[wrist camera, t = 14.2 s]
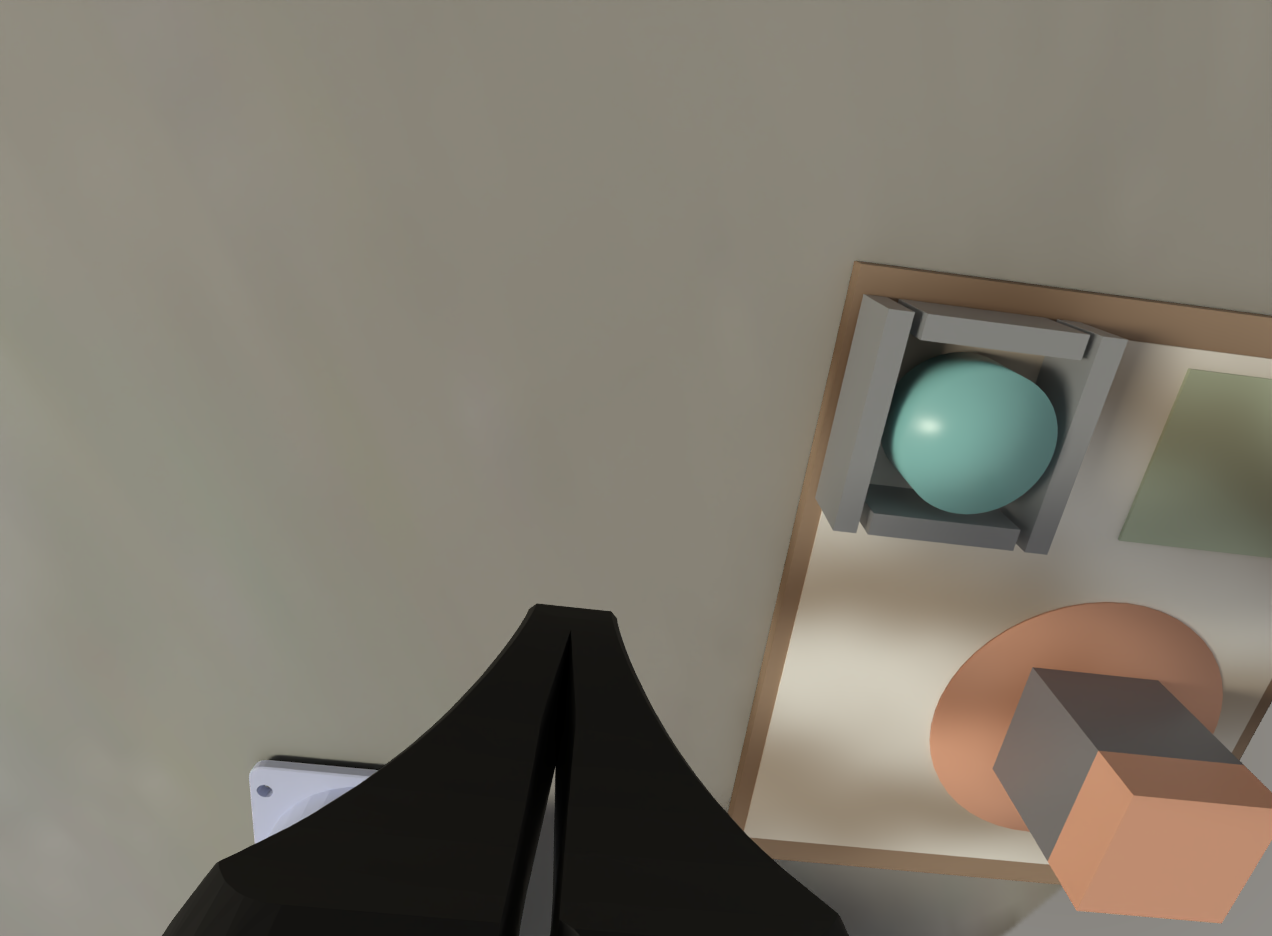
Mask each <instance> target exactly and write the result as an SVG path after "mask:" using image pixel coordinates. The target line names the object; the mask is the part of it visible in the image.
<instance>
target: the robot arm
mask: <svg viewBox="0 0 1272 936" xmlns="http://www.w3.org/2000/svg"><path fill="white" fill-rule="evenodd" d="M555 766H556V772H555V820H554V872H553V905H552V922H551V933H550V936H849V935H848V933H847V931H846V929H845V926H844V924H843V922H842V920H841V918H840V916H839V915H838V913H836V912H835V911H834V910H833V909H831V908H830V907H829V906H828V905H827V904H825V903H824V902H823V901H822V900H820V899H819V898H818V897H817V896H816V895H814V894H813V893H812V892H811V891H809V890H808V889H807V888H806V887H804V886H803V885H802V884H801V883H800V882H798V881H797V880H796V879H795V878H793V877H792V876H791V875H790V874H789V873H787V872H786V871H785V870H784V869H783V868H781V867H780V866H779V865H778V864H777V863H776V862H775V861H774V860H773V859H772V858H771V857H770V856H769V855H767V854H766V853H765V852H764V851H763V850H762V849H761V848H760V847H759V846H758V845H757V844H756V843H755V842H754V841H753V840H752V839H751V838H750V837H749V836H748V835H747V834H746V833H745V832H744V831H743V830H742V829H741V828H740V827H739V825H738V824H737V823H736V822H735V821H734V820H733V819H732V818H731V817H730V816H729V814H728V813H727V812H726V811H725V810H724V809H723V808H722V807H721V806H720V805H719V803H718V802H717V801H716V800H715V799H714V798H713V796H712V795H711V794H710V793H709V791H708V790H707V789H706V787H705V786H704V785H703V784H702V782H701V781H700V780H699V779H698V777H697V776H696V775H695V773H694V772H693V770H692V769H691V768H690V766H689V765H688V763H687V762H686V761H685V759H684V758H683V756H682V755H681V754H680V752H679V751H678V749H677V748H676V746H675V744H674V743H673V741H672V740H671V738H670V737H669V735H668V733H667V732H666V730H665V728H664V727H663V725H662V723H661V721H660V720H659V718H658V716H657V715H656V713H655V711H654V709H653V707H652V705H651V704H650V702H649V700H648V698H647V696H646V694H645V692H644V690H643V688H642V685H641V683H640V681H639V679H638V677H637V675H636V673H635V671H634V668H633V666H632V664H631V662H630V659H629V656H628V654H627V651H626V649H625V646H624V643H623V640H622V637H621V634H620V631H619V627H618V623H617V618H616V617H615V616H614V614H613V613H612V612H611V611H602V610H592V609H583V608H573V607H564V606H554V605H545V604H536V605H534V606H533V607H531V608H530V609H529V611H528V613H527V615H526V616H525V618H524V620H523V621H522V623H521V625H520V626H519V628H518V629H517V631H516V632H515V634H514V635H513V637H512V638H511V639H510V641H509V642H508V643H507V645H506V646H505V648H504V649H503V650H502V651H501V653H500V654H499V655H498V656H497V658H496V659H495V660H494V661H493V663H492V664H491V665H490V666H489V667H488V669H487V670H486V671H485V672H484V674H483V675H482V676H481V677H480V678H479V679H478V680H477V682H476V683H475V684H474V685H473V686H472V687H471V688H470V689H469V690H468V691H467V692H466V693H465V694H464V695H463V696H462V697H461V699H460V700H459V701H458V702H457V703H456V704H455V705H454V706H453V707H452V708H451V709H450V710H449V711H448V712H447V713H446V714H445V715H444V716H443V717H442V718H441V719H440V720H439V721H437V722H436V723H435V724H434V725H433V726H432V727H431V728H430V729H429V730H428V731H426V732H425V733H424V734H423V735H422V736H421V737H419V738H418V739H417V740H416V741H415V742H414V743H413V744H411V745H410V746H409V747H408V748H406V749H405V750H404V751H403V752H401V753H400V754H399V755H397V756H396V757H395V758H394V759H392V760H391V761H390V762H388V763H387V764H386V765H385V766H383V767H382V768H381V769H379V770H371V769H360V768H350V767H339V766H328V765H317V764H306V763H296V762H285V761H274V760H261V761H259V762H257V763H256V764H255V765H254V767H253V768H252V770H251V772H250V775H249V782H250V794H251V805H252V817H253V829H254V840H255V844H254V845H252V846H250V847H248V848H246V849H244V850H242V851H240V852H238V853H236V854H234V855H232V856H230V857H227V858H225V859H223V860H221V861H219V862H217V863H216V864H215V865H214V867H213V868H212V869H211V870H210V872H209V873H208V874H207V876H206V877H205V878H204V879H203V881H202V882H201V883H200V885H199V886H198V887H197V889H196V890H195V891H194V892H193V894H192V895H191V896H190V898H189V899H188V900H187V902H186V903H185V904H184V905H183V907H182V908H181V909H180V911H179V912H178V913H177V915H176V916H175V917H174V919H173V920H172V921H171V923H170V924H169V926H168V927H167V929H166V930H165V932H164V934H163V935H162V936H519V931H520V924H521V919H522V913H523V908H524V903H525V897H526V892H527V888H528V884H529V879H530V875H531V871H532V866H533V862H534V857H535V853H536V849H537V844H538V840H539V836H540V831H541V827H542V823H543V818H544V814H545V810H546V805H547V801H548V796H549V792H550V788H551V783H552V779H553V774H554V770H555ZM265 785H266V786H269V787H270V788H268V787H266V786H265Z"/></svg>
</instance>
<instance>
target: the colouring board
mask: <svg viewBox="0 0 1272 936" xmlns="http://www.w3.org/2000/svg"><path fill="white" fill-rule="evenodd" d="M863 294H867V295H874V296H882V297H888V298H890V299H891V300H893V301H895V302H897V303H898V300H899V299H905V300H913V301H921V302H928V303H936V304H944V305H951V306H959V307H967V308H974V309H982V310H990V311H997V312H1005V313H1013V314H1021V315H1028V316H1036V317H1044V318H1048V319H1050V320H1053V321H1055V322H1056V321H1057V319H1059V320H1067V321H1074V322H1081V323H1084V324H1086V325H1089V326H1092V327H1095V328H1097V329H1100V330H1103V331H1106V332H1108V333H1111V334H1114V335H1117V336H1119V337H1122V338H1125V339H1128V342H1127V344H1126V347H1125V350H1124V352H1123V355H1122V358H1121V360H1120V363H1119V366H1118V368H1117V371H1116V374H1115V376H1114V379H1113V382H1112V384H1111V387H1110V390H1109V392H1108V395H1107V398H1106V400H1105V403H1104V405H1103V408H1102V411H1101V413H1100V416H1099V419H1098V421H1097V424H1096V427H1095V429H1094V432H1093V435H1092V437H1091V440H1090V443H1089V445H1088V448H1087V451H1086V453H1085V456H1084V459H1083V461H1082V464H1081V467H1080V469H1079V472H1078V474H1077V477H1076V480H1075V482H1074V485H1073V488H1072V490H1071V493H1070V496H1069V498H1068V501H1067V504H1066V506H1065V509H1064V512H1063V514H1062V517H1061V520H1060V522H1059V525H1058V528H1057V530H1056V533H1055V536H1054V538H1053V541H1052V543H1051V546H1050V549H1049V551H1048V554H1047V555H1044V554H1035V553H1026V552H1024V551H1023V550H1022V549H1021V548H1020V547H1019V546H1018V545H1017V544H1016V545H1015V547H1014V550H1013V551H1009V550H1000V549H991V548H982V547H973V546H964V545H955V544H947V543H938V542H929V541H920V540H911V539H902V538H893V537H885V536H876V535H868V534H867V532H866V531H865V529H864V528H863V526H862V525H861V523H860V521H859V525H858V529H857V532H856V533H849V532H840V531H833V530H832V528H831V526H830V524H829V522H828V521H827V519H826V517H825V515H824V513H823V511H822V510H821V508H820V506H819V504H818V502H817V500H816V498H815V496H816V492H817V488H818V483H819V479H820V475H821V471H822V467H823V462H824V458H825V454H826V450H827V446H828V441H829V437H830V433H831V429H832V425H833V420H834V416H835V412H836V408H837V404H838V399H839V395H840V391H841V387H842V383H843V378H844V374H845V370H846V366H847V362H848V357H849V353H850V349H851V345H852V340H853V336H854V332H855V328H856V324H857V319H858V315H859V311H860V307H861V303H862V298H863ZM954 352H969V353H975V354H980V355H983V356H986V357H988V358H990V359H992V360H994V361H996V362H998V363H999V364H1001V365H1003V366H1005V367H1007V368H1008V369H1010V370H1012V371H1014V372H1016V373H1017V374H1019V375H1021V376H1023V377H1025V378H1026V379H1028V380H1030V381H1032V382H1033V383H1034V384H1036V381H1037V378H1038V375H1039V372H1040V369H1041V366H1042V363H1043V360H1044V357H1045V356H1042V355H1034V354H1026V353H1018V352H1010V351H1003V350H995V349H987V348H979V347H971V346H963V345H955V344H948V343H940V342H932V341H924V340H920V339H918V338H917V337H915V336H913V335H912V334H910V333H909V337H908V340H907V344H906V348H905V352H904V355H903V359H902V363H901V367H900V370H899V374H898V378H897V382H896V384H897V383H898V382H899V380H900V379H901V378H902V377H903V376H904V375H905V374H906V373H908V372H909V371H910V370H912V369H913V368H914V367H916V366H917V365H919V364H921V363H922V362H924V361H926V360H928V359H930V358H933V357H936V356H939V355H942V354H947V353H954ZM869 484H876V485H885V486H894V487H902V488H911V489H913V488H912V487H911V486H910V485H909V483H908V482H907V481H906V480H905V479H904V478H903V476H902V475H901V474H900V473H899V472H898V471H897V469H896V468H895V467H894V466H893V465H892V463H891V462H890V461H889V459H888V458H887V456H886V454H885V452H884V449H883V447H882V443H881V442H880V446H879V450H878V453H877V457H876V461H875V465H874V468H873V472H872V476H871V480H870V483H869ZM1032 667H1035V668H1045V669H1054V670H1064V671H1073V672H1083V673H1092V674H1102V675H1111V676H1121V677H1131V678H1140V679H1150V680H1158V681H1159V682H1160V683H1161V684H1162V685H1163V686H1164V687H1165V688H1166V689H1167V690H1168V691H1169V692H1170V693H1172V694H1173V695H1174V696H1175V697H1176V698H1177V699H1178V700H1179V701H1180V702H1181V703H1182V704H1183V705H1184V706H1185V707H1186V708H1187V709H1188V710H1189V711H1190V712H1191V713H1192V714H1193V715H1194V716H1195V717H1196V718H1197V719H1198V720H1199V721H1200V722H1201V723H1202V724H1203V725H1204V726H1205V727H1206V728H1207V729H1208V730H1209V731H1210V732H1211V733H1212V734H1213V735H1214V736H1215V737H1216V738H1217V739H1218V740H1219V741H1220V742H1221V743H1222V744H1223V745H1224V746H1225V747H1226V748H1227V749H1228V750H1229V751H1230V752H1231V753H1232V754H1233V755H1234V756H1235V757H1236V758H1237V759H1238V760H1240V758H1241V757H1242V755H1243V753H1244V751H1245V749H1246V747H1247V745H1248V744H1249V742H1250V740H1251V738H1252V736H1253V735H1254V733H1255V731H1256V729H1257V727H1258V726H1259V724H1260V722H1261V720H1262V718H1263V717H1264V715H1265V713H1266V711H1267V709H1268V707H1269V706H1270V704H1271V702H1272V316H1268V315H1261V314H1253V313H1246V312H1238V311H1230V310H1223V309H1215V308H1208V307H1200V306H1193V305H1185V304H1177V303H1170V302H1162V301H1155V300H1147V299H1140V298H1132V297H1125V296H1117V295H1109V294H1102V293H1094V292H1087V291H1079V290H1072V289H1064V288H1057V287H1049V286H1041V285H1034V284H1026V283H1019V282H1011V281H1004V280H996V279H988V278H981V277H973V276H966V275H958V274H951V273H943V272H936V271H928V270H920V269H913V268H905V267H898V266H890V265H883V264H875V263H868V262H860V261H854V265H853V270H852V274H851V279H850V283H849V287H848V292H847V296H846V300H845V305H844V309H843V313H842V318H841V322H840V326H839V331H838V335H837V340H836V344H835V348H834V353H833V357H832V361H831V366H830V370H829V374H828V379H827V383H826V387H825V392H824V396H823V401H822V405H821V409H820V414H819V418H818V422H817V427H816V431H815V435H814V440H813V444H812V448H811V453H810V457H809V461H808V466H807V470H806V475H805V479H804V483H803V488H802V492H801V496H800V501H799V505H798V509H797V514H796V518H795V522H794V527H793V531H792V536H791V540H790V544H789V549H788V553H787V557H786V562H785V566H784V570H783V575H782V579H781V583H780V588H779V592H778V596H777V601H776V605H775V610H774V614H773V618H772V623H771V627H770V631H769V636H768V640H767V644H766V649H765V653H764V657H763V662H762V666H761V671H760V675H759V679H758V684H757V688H756V692H755V697H754V701H753V705H752V710H751V714H750V718H749V723H748V727H747V732H746V736H745V740H744V745H743V749H742V753H741V758H740V762H739V766H738V771H737V775H736V779H735V784H734V788H733V792H732V797H731V801H730V806H729V810H728V814H729V816H730V817H731V818H732V819H733V820H734V821H735V822H736V823H737V824H738V825H739V827H740V828H741V829H742V830H743V831H744V832H745V833H746V834H747V835H748V836H749V837H750V838H751V839H752V840H753V841H754V842H755V843H756V844H757V845H758V846H759V847H760V848H761V849H762V850H763V851H764V852H765V853H766V854H767V855H769V856H770V857H771V858H772V859H779V860H790V861H802V862H813V863H824V864H835V865H847V866H858V867H869V868H880V869H892V870H903V871H914V872H925V873H937V874H948V875H959V876H970V877H981V878H993V879H1004V880H1015V881H1026V882H1038V883H1049V884H1060V885H1061V883H1060V882H1059V880H1058V878H1057V877H1056V875H1055V873H1054V872H1053V870H1052V868H1051V866H1050V865H1049V863H1048V861H1047V860H1046V858H1045V856H1044V855H1043V853H1042V851H1041V850H1040V848H1039V846H1038V845H1037V843H1036V841H1035V839H1034V838H1033V836H1032V834H1031V833H1030V831H1029V829H1028V828H1027V826H1026V824H1025V823H1024V821H1023V819H1022V818H1021V816H1020V814H1019V812H1018V811H1017V809H1016V807H1015V806H1014V804H1013V802H1012V801H1011V799H1010V797H1009V796H1008V794H1007V792H1006V791H1005V789H1004V787H1003V785H1002V784H1001V782H1000V780H999V779H998V777H997V775H996V774H995V772H994V770H993V766H994V763H995V761H996V758H997V756H998V753H999V751H1000V748H1001V746H1002V743H1003V741H1004V738H1005V736H1006V733H1007V730H1008V728H1009V725H1010V723H1011V720H1012V718H1013V715H1014V713H1015V710H1016V708H1017V705H1018V703H1019V700H1020V698H1021V695H1022V692H1023V690H1024V687H1025V685H1026V682H1027V680H1028V677H1029V675H1030V672H1031V670H1032Z"/></svg>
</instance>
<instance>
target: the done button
mask: <svg viewBox="0 0 1272 936" xmlns="http://www.w3.org/2000/svg"><path fill="white" fill-rule="evenodd" d="M1057 434H1058V426H1057V418H1056V414H1055V411H1054V408H1053V406H1052V404H1051V402H1050V400H1049V398H1048V397H1047V396H1046V394H1045V393H1044V392H1043V391H1042V390H1041V389H1040V388H1039V387H1038V386H1037V385H1036V384H1034V383H1033V382H1032V381H1030V380H1028V379H1026V378H1025V377H1023V376H1021V375H1019V374H1017V373H1016V372H1014V371H1012V370H1010V369H1008V368H1007V367H1005V366H1003V365H1001V364H999V363H998V362H996V361H994V360H992V359H990V358H988V357H986V356H983V355H980V354H975V353H969V352H954V353H947V354H942V355H939V356H936V357H933V358H930V359H928V360H926V361H924V362H922V363H921V364H919V365H917V366H916V367H914V368H913V369H912V370H910V371H909V372H908V373H906V374H905V375H904V376H903V377H902V378H901V379H900V380H899V382H898V383H897V384H896V385H895V389H894V393H893V397H892V401H891V404H890V408H889V412H888V416H887V419H886V423H885V427H884V431H883V434H882V438H881V443H882V447H883V449H884V452H885V454H886V456H887V458H888V459H889V461H890V462H891V463H892V465H893V466H894V467H895V468H896V469H897V471H898V472H899V473H900V474H901V475H902V476H903V478H904V479H905V480H906V481H907V482H908V483H909V485H910V486H911V487H912V488H913V489H914V490H915V492H916V493H917V494H918V495H919V496H920V497H921V498H922V499H923V500H925V501H926V502H927V503H929V504H930V505H932V506H934V507H936V508H938V509H940V510H944V511H947V512H951V513H956V514H978V513H984V512H988V511H992V510H995V509H998V508H1000V507H1003V506H1005V505H1007V504H1009V503H1011V502H1013V501H1014V500H1016V499H1017V498H1019V497H1020V496H1022V495H1023V494H1024V493H1026V492H1027V491H1028V490H1029V489H1030V488H1031V487H1032V486H1033V485H1034V484H1035V483H1036V482H1037V481H1038V480H1039V478H1040V477H1041V476H1042V474H1043V473H1044V472H1045V470H1046V468H1047V467H1048V465H1049V463H1050V461H1051V458H1052V456H1053V454H1054V450H1055V447H1056V442H1057Z"/></svg>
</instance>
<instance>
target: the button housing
mask: <svg viewBox="0 0 1272 936" xmlns="http://www.w3.org/2000/svg"><path fill="white" fill-rule="evenodd" d="M909 333H910V334H912V335H913V336H915V337H917V338H918V339H920V340H924V341H932V342H940V343H948V344H955V345H963V346H971V347H979V348H987V349H995V350H1003V351H1010V352H1018V353H1026V354H1034V355H1042V356H1045V357H1044V360H1043V363H1042V366H1041V369H1040V372H1039V375H1038V378H1037V381H1036V385H1037V386H1038V387H1039V388H1040V389H1041V390H1042V391H1043V392H1044V393H1045V394H1046V396H1047V397H1048V398H1049V400H1050V402H1051V404H1052V406H1053V408H1054V411H1055V414H1056V418H1057V426H1058V434H1057V442H1056V447H1055V450H1054V454H1053V456H1052V458H1051V461H1050V463H1049V465H1048V467H1047V468H1046V470H1045V472H1044V473H1043V474H1042V476H1041V477H1040V478H1039V480H1038V481H1037V482H1036V483H1035V484H1034V485H1033V486H1032V487H1031V488H1030V489H1029V490H1028V491H1027V492H1026V493H1024V494H1023V495H1022V496H1020V497H1019V498H1017V499H1016V500H1014V501H1013V502H1011V503H1009V504H1007V505H1005V506H1003V507H1000V508H998V509H995V510H992V511H988V512H984V513H978V514H956V513H951V512H947V511H944V510H940V509H938V508H936V507H934V506H932V505H930V504H929V503H927V502H926V501H925V500H923V499H922V498H921V497H920V496H919V495H918V494H917V493H916V492H915V490H914V489H911V488H902V487H894V486H885V485H876V484H869V483H870V480H871V476H872V472H873V468H874V465H875V461H876V457H877V453H878V450H879V446H880V442H881V438H882V434H883V431H884V427H885V423H886V419H887V416H888V412H889V408H890V404H891V401H892V397H893V393H894V389H895V385H896V382H897V378H898V374H899V370H900V367H901V363H902V359H903V355H904V352H905V348H906V344H907V340H908V337H909ZM1127 342H1128V339H1125V338H1122V337H1119V336H1117V335H1114V334H1111V333H1108V332H1106V331H1103V330H1100V329H1097V328H1095V327H1092V326H1089V325H1086V324H1084V323H1081V322H1074V321H1067V320H1059V319H1057V321H1056V322H1055V321H1053V320H1050V319H1048V318H1044V317H1036V316H1028V315H1021V314H1013V313H1005V312H997V311H990V310H982V309H974V308H967V307H959V306H951V305H944V304H936V303H928V302H921V301H913V300H905V299H899V300H898V303H897V302H895V301H893V300H891V299H890V298H888V297H882V296H874V295H867V294H863V298H862V303H861V307H860V311H859V315H858V319H857V324H856V328H855V332H854V336H853V340H852V345H851V349H850V353H849V357H848V362H847V366H846V370H845V374H844V378H843V383H842V387H841V391H840V395H839V399H838V404H837V408H836V412H835V416H834V420H833V425H832V429H831V433H830V437H829V441H828V446H827V450H826V454H825V458H824V462H823V467H822V471H821V475H820V479H819V483H818V488H817V492H816V496H815V498H816V500H817V502H818V504H819V506H820V508H821V510H822V511H823V513H824V515H825V517H826V519H827V521H828V522H829V524H830V526H831V528H832V530H833V531H840V532H849V533H856V532H857V529H858V525H859V521H860V523H861V525H862V526H863V528H864V529H865V531H866V532H867V534H868V535H876V536H885V537H893V538H902V539H911V540H920V541H929V542H938V543H947V544H955V545H964V546H973V547H982V548H991V549H1000V550H1009V551H1013V550H1014V547H1015V545H1016V544H1017V545H1018V546H1019V547H1020V548H1021V549H1022V550H1023V551H1024V552H1026V553H1035V554H1044V555H1047V554H1048V551H1049V549H1050V546H1051V543H1052V541H1053V538H1054V536H1055V533H1056V530H1057V528H1058V525H1059V522H1060V520H1061V517H1062V514H1063V512H1064V509H1065V506H1066V504H1067V501H1068V498H1069V496H1070V493H1071V490H1072V488H1073V485H1074V482H1075V480H1076V477H1077V474H1078V472H1079V469H1080V467H1081V464H1082V461H1083V459H1084V456H1085V453H1086V451H1087V448H1088V445H1089V443H1090V440H1091V437H1092V435H1093V432H1094V429H1095V427H1096V424H1097V421H1098V419H1099V416H1100V413H1101V411H1102V408H1103V405H1104V403H1105V400H1106V398H1107V395H1108V392H1109V390H1110V387H1111V384H1112V382H1113V379H1114V376H1115V374H1116V371H1117V368H1118V366H1119V363H1120V360H1121V358H1122V355H1123V352H1124V350H1125V347H1126V344H1127Z"/></svg>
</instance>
